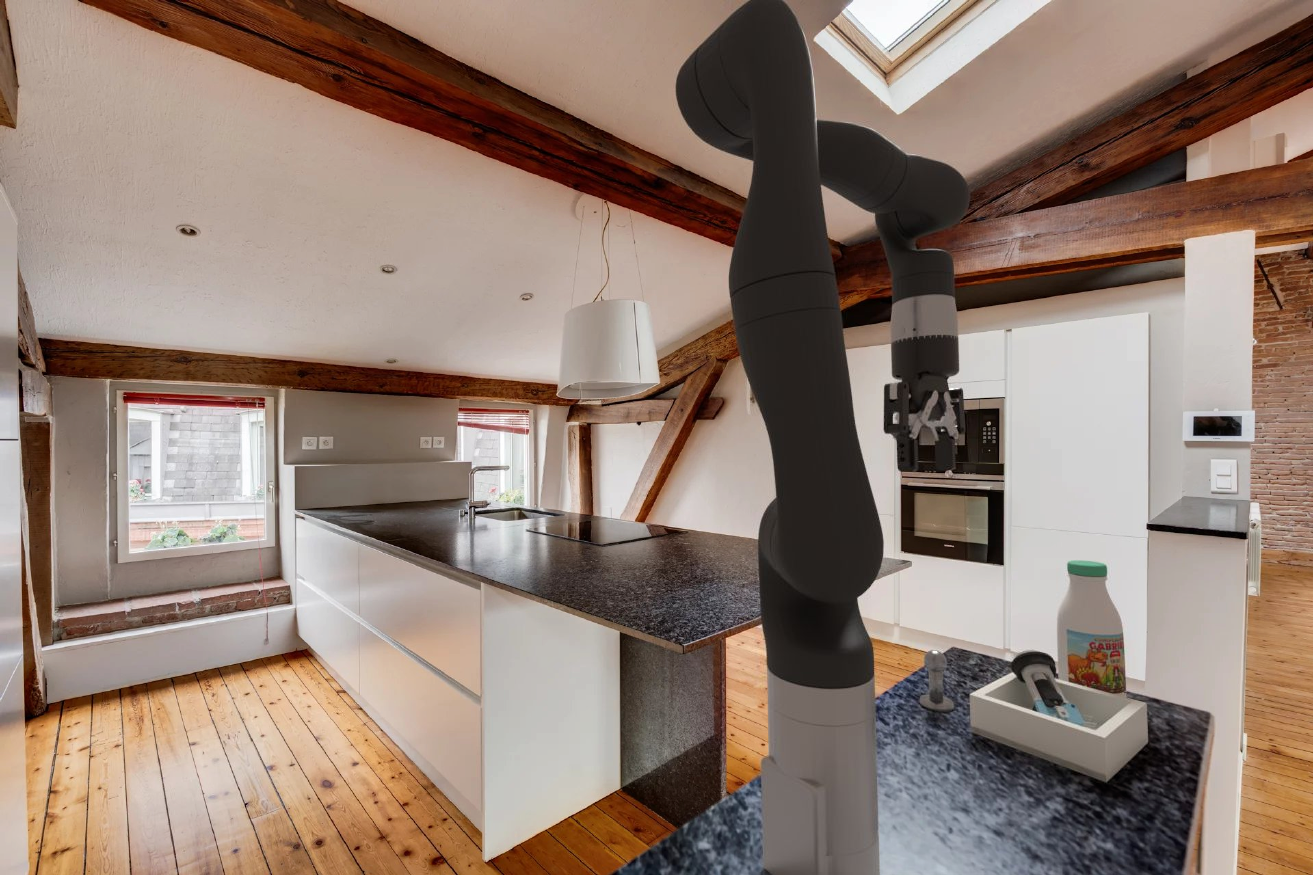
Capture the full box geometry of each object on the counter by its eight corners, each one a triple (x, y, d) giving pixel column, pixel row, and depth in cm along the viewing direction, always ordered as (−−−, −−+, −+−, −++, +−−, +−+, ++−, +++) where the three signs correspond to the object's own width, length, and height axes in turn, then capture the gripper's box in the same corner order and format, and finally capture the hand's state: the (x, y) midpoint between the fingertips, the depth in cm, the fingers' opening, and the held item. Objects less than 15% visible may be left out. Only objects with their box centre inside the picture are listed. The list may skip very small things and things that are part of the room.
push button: (1090, 741, 72) (1055, 673, 80) (1105, 715, 69) (1066, 647, 78) (1033, 736, 73) (1003, 669, 81) (1044, 710, 70) (1013, 643, 79)
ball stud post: (943, 714, 79) (941, 658, 79) (913, 703, 83) (912, 649, 83) (959, 706, 82) (958, 651, 82) (929, 695, 85) (928, 643, 85)
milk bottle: (1047, 697, 84) (1042, 560, 84) (1078, 688, 87) (1073, 555, 88) (1107, 719, 77) (1101, 569, 77) (1138, 708, 80) (1132, 564, 81)
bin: (1106, 782, 62) (1104, 737, 63) (970, 731, 74) (969, 694, 74) (1148, 742, 71) (1146, 702, 71) (1020, 702, 82) (1019, 668, 83)
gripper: (921, 326, 63) (925, 473, 63) (983, 339, 71) (987, 469, 71) (862, 337, 69) (865, 471, 69) (925, 349, 78) (929, 468, 77)
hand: (927, 470), depth 70 cm, fingers open, 8 cm apart
